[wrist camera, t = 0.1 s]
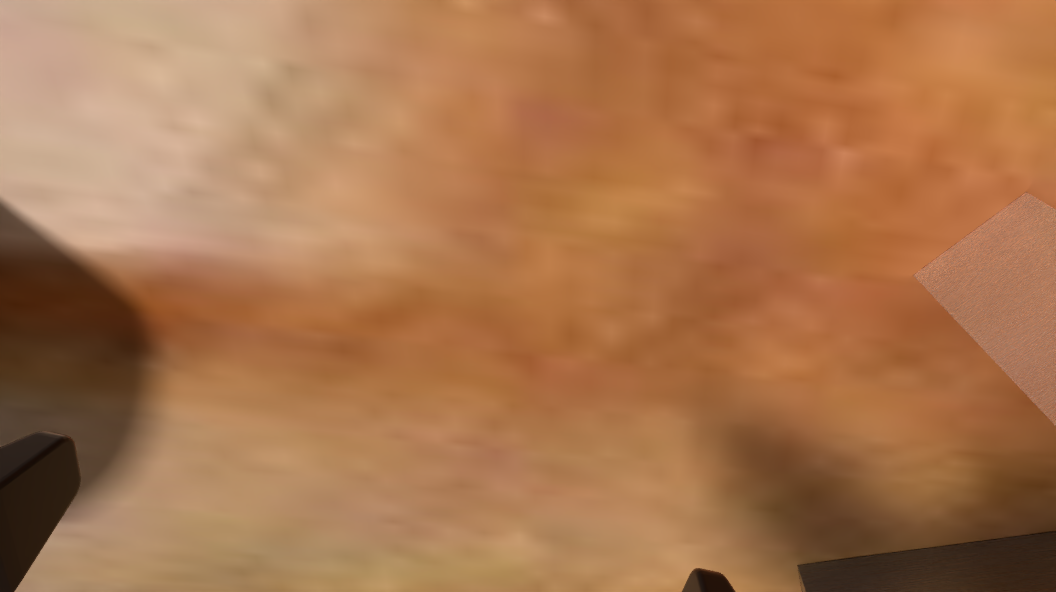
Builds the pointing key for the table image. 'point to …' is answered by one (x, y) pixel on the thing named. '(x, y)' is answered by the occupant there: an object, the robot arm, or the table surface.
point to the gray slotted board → (944, 569)
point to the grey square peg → (1007, 293)
